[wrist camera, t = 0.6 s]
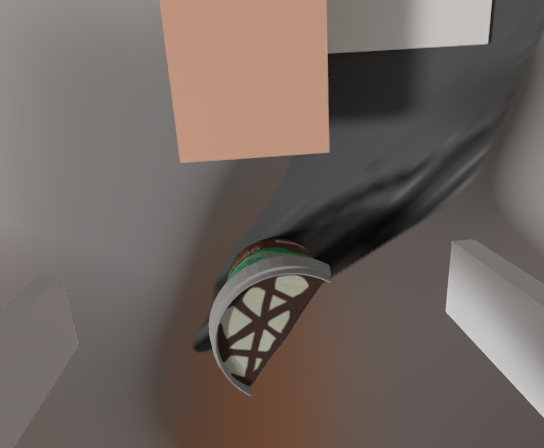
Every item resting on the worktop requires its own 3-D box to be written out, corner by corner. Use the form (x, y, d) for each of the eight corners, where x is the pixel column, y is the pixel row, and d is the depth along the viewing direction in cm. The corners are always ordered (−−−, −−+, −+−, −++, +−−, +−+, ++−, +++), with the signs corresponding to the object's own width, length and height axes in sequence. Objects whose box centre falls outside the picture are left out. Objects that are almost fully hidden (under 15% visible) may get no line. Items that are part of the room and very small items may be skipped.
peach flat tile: (149, -144, 24) (136, -176, 21) (313, -149, 25) (323, -181, 22) (186, 156, 30) (180, 162, 27) (320, 147, 30) (329, 152, 27)
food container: (256, 200, 37) (262, 235, 28) (311, 232, 38) (335, 276, 29) (192, 304, 40) (176, 369, 30) (245, 331, 41) (247, 401, 32)
